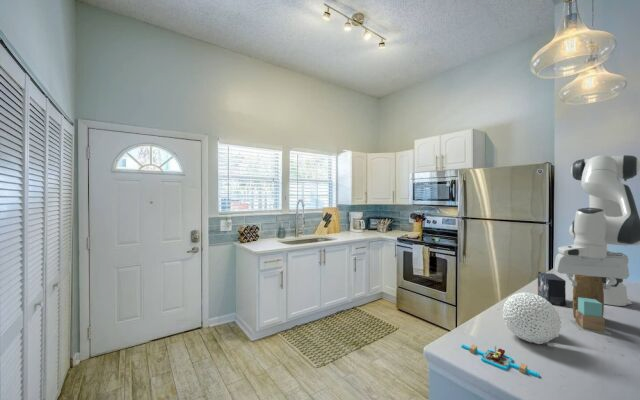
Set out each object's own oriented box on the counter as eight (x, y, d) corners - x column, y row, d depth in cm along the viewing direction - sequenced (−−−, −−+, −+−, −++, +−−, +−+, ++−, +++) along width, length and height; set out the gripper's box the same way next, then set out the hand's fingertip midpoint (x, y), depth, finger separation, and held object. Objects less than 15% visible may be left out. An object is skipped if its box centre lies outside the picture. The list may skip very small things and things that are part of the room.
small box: (537, 294, 139) (537, 271, 139) (553, 296, 136) (553, 273, 136) (547, 303, 127) (548, 278, 127) (566, 306, 124) (566, 280, 124)
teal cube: (577, 310, 104) (578, 297, 104) (595, 312, 102) (595, 299, 102) (584, 315, 100) (584, 301, 100) (602, 317, 97) (602, 303, 97)
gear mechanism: (468, 342, 92) (457, 352, 86) (468, 326, 92) (457, 335, 86) (542, 370, 77) (536, 384, 71) (542, 351, 77) (536, 364, 71)
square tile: (568, 322, 107) (568, 319, 107) (599, 327, 103) (599, 324, 103) (579, 332, 99) (579, 329, 99) (612, 338, 95) (612, 334, 95)
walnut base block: (575, 322, 105) (575, 309, 105) (596, 325, 102) (596, 312, 102) (582, 328, 99) (582, 315, 99) (604, 332, 97) (604, 318, 97)
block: (595, 327, 103) (596, 276, 103) (570, 320, 109) (570, 271, 109) (606, 322, 108) (607, 272, 108) (581, 315, 114) (582, 268, 114)
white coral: (579, 333, 81) (540, 281, 91) (517, 349, 86) (488, 299, 96) (567, 337, 95) (536, 292, 105) (516, 351, 101) (490, 307, 111)
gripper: (622, 251, 99) (622, 288, 100) (553, 247, 108) (552, 281, 108) (633, 254, 94) (633, 294, 94) (559, 250, 102) (559, 286, 102)
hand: (589, 287), depth 101 cm, fingers open, 8 cm apart
